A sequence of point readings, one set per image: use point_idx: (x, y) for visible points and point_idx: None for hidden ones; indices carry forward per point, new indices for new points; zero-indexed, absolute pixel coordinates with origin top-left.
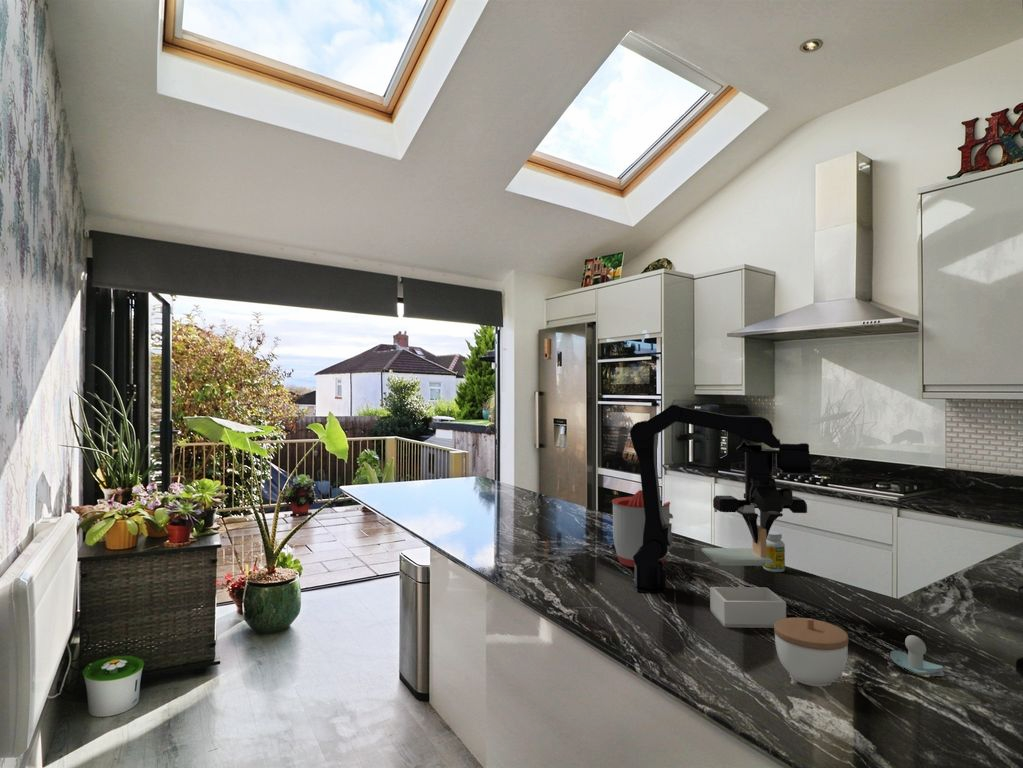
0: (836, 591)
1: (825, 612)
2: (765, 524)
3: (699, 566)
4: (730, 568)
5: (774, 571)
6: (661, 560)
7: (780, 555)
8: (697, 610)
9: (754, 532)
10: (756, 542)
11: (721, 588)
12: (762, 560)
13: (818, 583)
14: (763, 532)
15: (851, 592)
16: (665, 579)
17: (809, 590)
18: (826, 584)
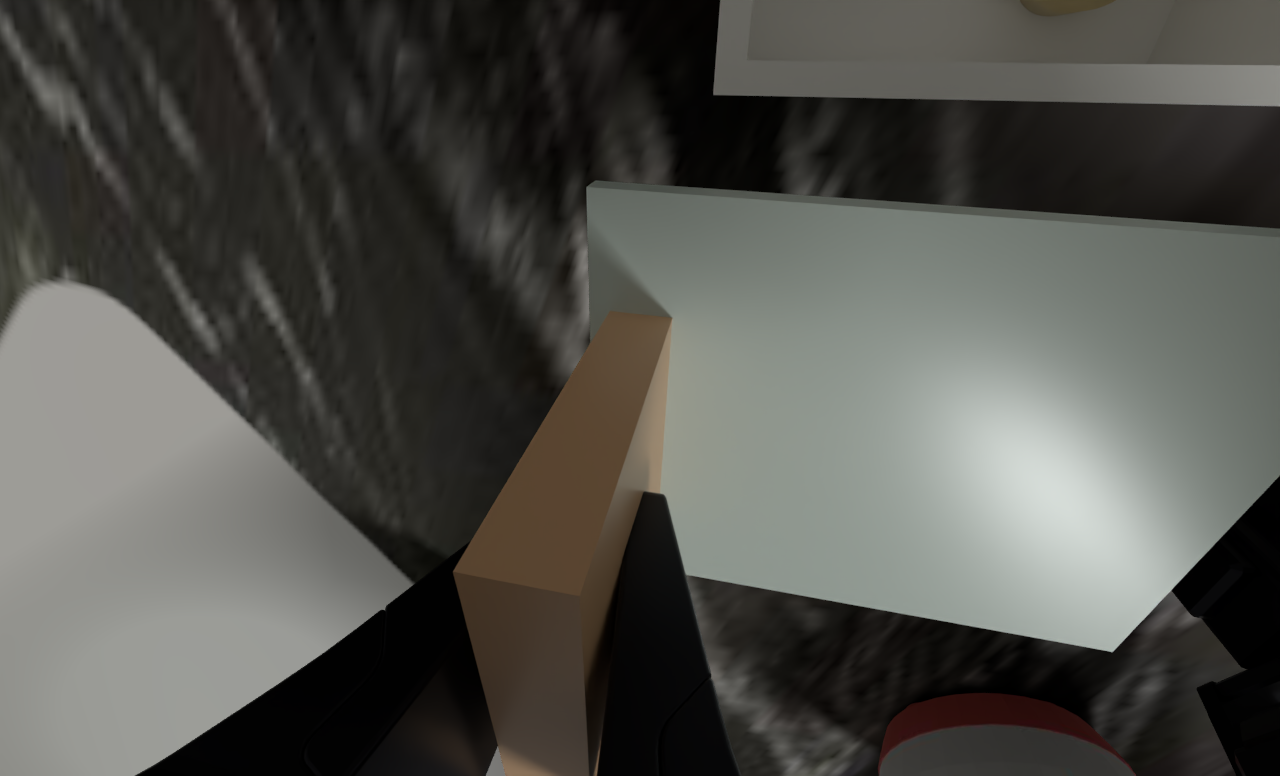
0: (291, 371)
1: (385, 70)
2: (402, 732)
3: (746, 670)
4: None
5: None
6: (943, 722)
7: None
8: (1246, 107)
9: (674, 614)
10: (655, 498)
11: (1199, 65)
12: (711, 196)
13: (346, 460)
14: (543, 528)
15: (236, 355)
16: None
17: (397, 393)
18: (319, 447)
